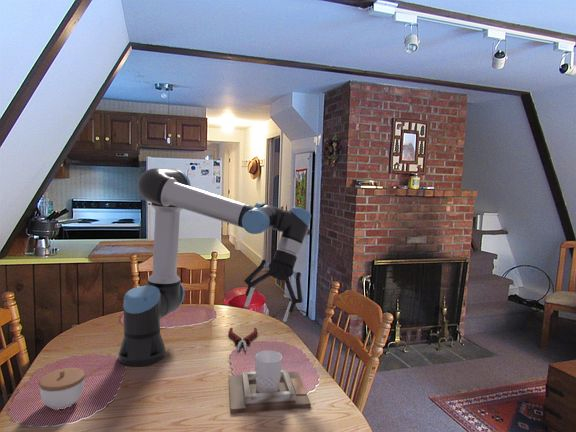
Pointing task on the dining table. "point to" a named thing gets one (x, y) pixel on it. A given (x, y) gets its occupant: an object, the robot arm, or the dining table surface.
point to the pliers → (245, 340)
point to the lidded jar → (61, 387)
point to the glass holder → (251, 400)
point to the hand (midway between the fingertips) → (265, 314)
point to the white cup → (268, 371)
